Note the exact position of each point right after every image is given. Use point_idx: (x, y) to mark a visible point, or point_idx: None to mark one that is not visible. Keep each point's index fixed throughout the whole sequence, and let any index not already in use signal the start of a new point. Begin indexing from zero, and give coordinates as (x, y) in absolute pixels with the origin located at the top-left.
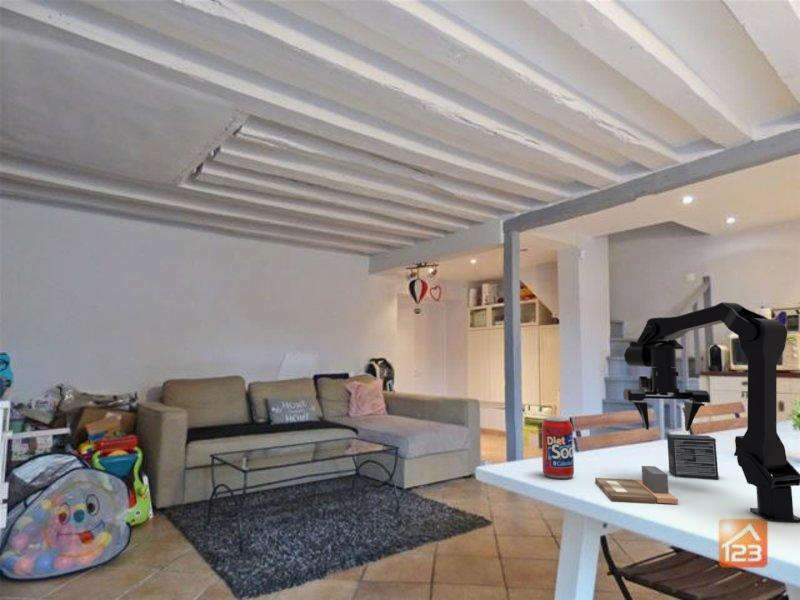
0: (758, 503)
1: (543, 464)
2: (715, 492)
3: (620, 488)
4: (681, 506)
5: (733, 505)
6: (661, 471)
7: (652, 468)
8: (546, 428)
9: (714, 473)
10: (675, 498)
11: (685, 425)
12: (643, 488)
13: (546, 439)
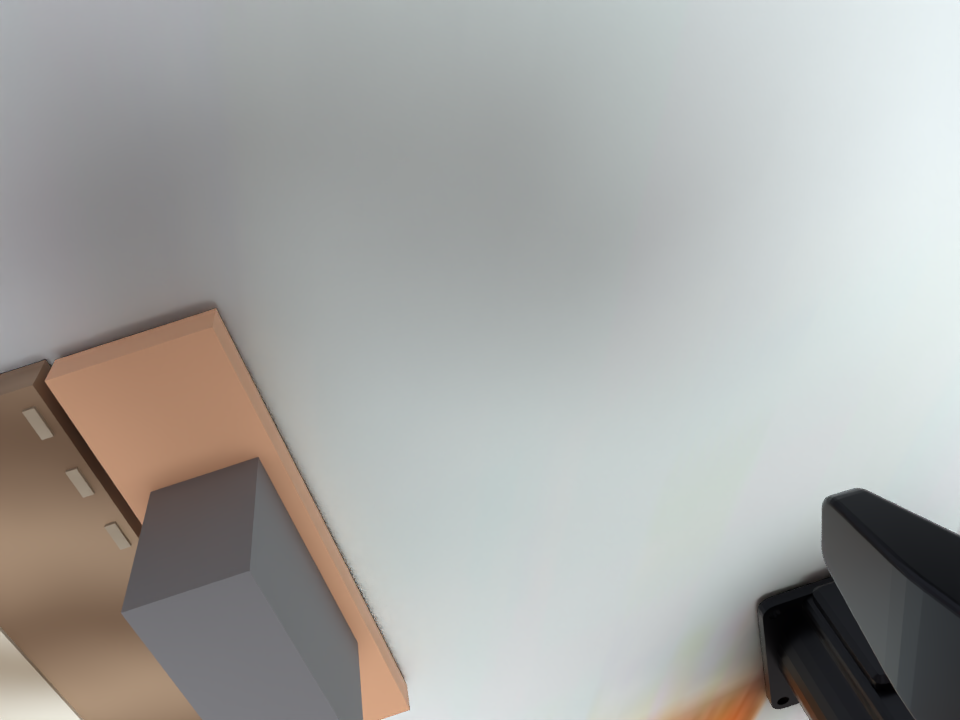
0: (800, 695)
1: None
2: (703, 278)
3: (32, 701)
4: (421, 693)
5: (710, 541)
6: (319, 712)
7: (236, 660)
8: None
9: None
10: (397, 708)
11: (890, 592)
12: None
13: None
